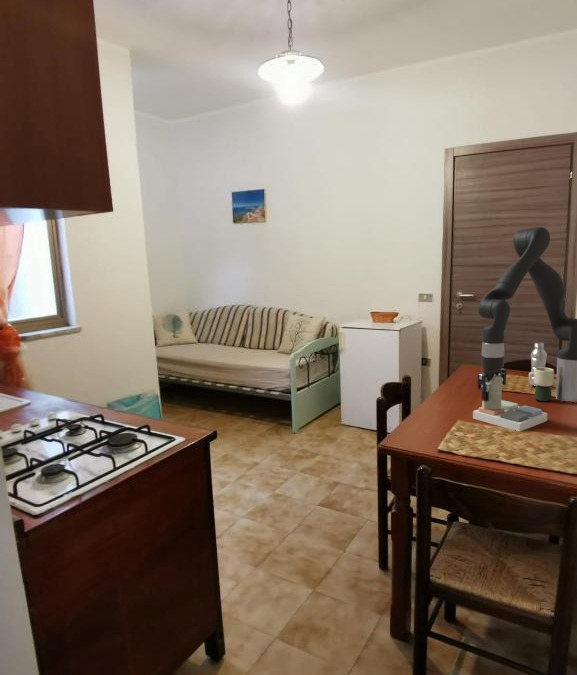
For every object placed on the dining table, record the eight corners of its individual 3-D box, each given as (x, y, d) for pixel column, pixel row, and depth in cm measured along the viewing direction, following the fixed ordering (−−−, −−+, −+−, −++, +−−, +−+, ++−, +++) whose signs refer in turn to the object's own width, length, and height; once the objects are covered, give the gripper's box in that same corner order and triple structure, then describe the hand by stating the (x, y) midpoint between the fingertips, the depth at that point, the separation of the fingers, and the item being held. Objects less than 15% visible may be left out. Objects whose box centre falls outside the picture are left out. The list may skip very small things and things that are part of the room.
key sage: (502, 404, 185) (502, 400, 184) (517, 408, 179) (518, 403, 179) (492, 407, 182) (492, 403, 181) (508, 411, 176) (508, 407, 176)
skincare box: (499, 406, 177) (500, 374, 175) (501, 410, 173) (502, 377, 171) (481, 405, 179) (482, 373, 177) (482, 409, 174) (483, 376, 173)
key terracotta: (488, 409, 180) (488, 404, 180) (504, 413, 175) (504, 408, 175) (478, 412, 177) (478, 407, 177) (494, 416, 172) (494, 411, 171)
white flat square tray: (500, 409, 187) (500, 402, 187) (547, 420, 172) (547, 413, 171) (472, 418, 178) (473, 411, 177) (519, 431, 163) (519, 423, 162)
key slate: (524, 410, 177) (524, 405, 177) (541, 414, 172) (541, 409, 172) (514, 413, 174) (514, 408, 174) (532, 417, 169) (532, 412, 168)
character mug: (558, 399, 196) (560, 368, 193) (557, 404, 190) (558, 372, 188) (529, 396, 201) (530, 366, 199) (526, 400, 196) (527, 369, 194)
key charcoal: (510, 414, 173) (510, 410, 172) (528, 419, 167) (528, 414, 167) (500, 418, 170) (500, 413, 169) (518, 423, 164) (518, 418, 164)
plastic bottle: (525, 386, 217) (527, 342, 214) (537, 384, 219) (539, 341, 215) (537, 389, 211) (538, 345, 207) (549, 387, 213) (551, 343, 209)
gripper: (495, 350, 180) (494, 393, 182) (471, 356, 172) (470, 400, 174) (514, 353, 173) (512, 397, 176) (489, 359, 166) (488, 405, 168)
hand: (491, 398), depth 175 cm, fingers closed on skincare box, 7 cm apart
